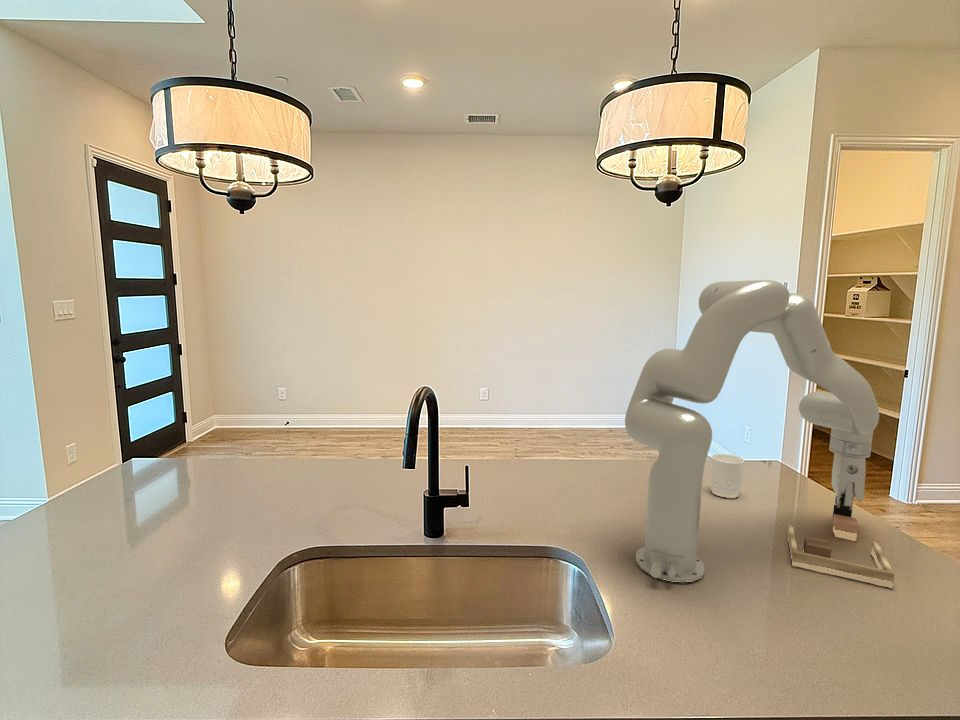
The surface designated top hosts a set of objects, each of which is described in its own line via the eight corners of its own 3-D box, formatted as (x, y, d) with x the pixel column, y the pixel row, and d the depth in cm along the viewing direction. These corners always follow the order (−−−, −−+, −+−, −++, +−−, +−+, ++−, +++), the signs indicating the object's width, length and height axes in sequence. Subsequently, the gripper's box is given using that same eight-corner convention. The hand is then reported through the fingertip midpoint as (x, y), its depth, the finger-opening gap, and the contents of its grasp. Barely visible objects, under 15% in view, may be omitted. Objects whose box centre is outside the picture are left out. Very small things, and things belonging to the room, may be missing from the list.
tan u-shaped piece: (892, 589, 91) (894, 573, 91) (791, 566, 98) (793, 552, 98) (875, 555, 103) (877, 541, 103) (787, 536, 111) (788, 524, 110)
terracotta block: (856, 542, 109) (858, 525, 108) (834, 538, 111) (836, 520, 110) (853, 535, 112) (855, 518, 112) (832, 530, 114) (833, 514, 114)
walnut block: (829, 568, 98) (831, 549, 97) (805, 563, 100) (807, 544, 99) (825, 559, 101) (827, 540, 101) (802, 554, 103) (804, 536, 103)
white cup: (733, 502, 129) (736, 465, 127) (703, 493, 135) (705, 457, 133) (746, 495, 134) (749, 459, 132) (716, 486, 140) (719, 451, 138)
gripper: (878, 458, 105) (868, 541, 107) (863, 440, 118) (854, 515, 120) (835, 452, 108) (826, 533, 111) (825, 436, 121) (817, 508, 124)
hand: (841, 523), depth 115 cm, fingers closed
